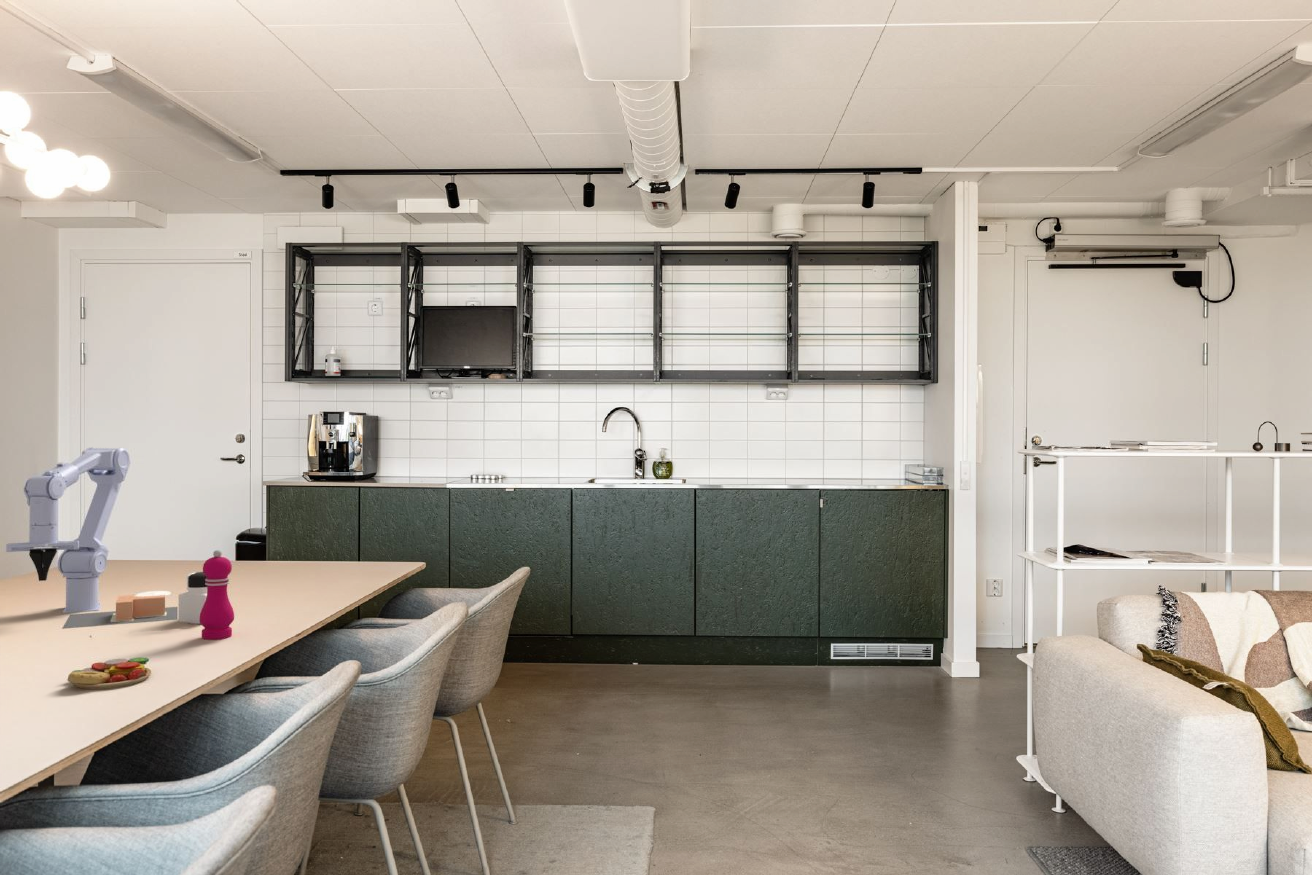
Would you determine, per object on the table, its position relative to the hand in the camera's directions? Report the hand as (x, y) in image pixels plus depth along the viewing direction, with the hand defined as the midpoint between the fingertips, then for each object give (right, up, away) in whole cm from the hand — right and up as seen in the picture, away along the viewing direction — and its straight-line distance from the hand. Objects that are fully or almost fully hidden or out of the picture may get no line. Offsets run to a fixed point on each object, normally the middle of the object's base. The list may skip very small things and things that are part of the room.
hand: (42, 580), depth 218 cm
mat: (+16, -11, +6) cm, 20 cm away
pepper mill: (+49, -11, -13) cm, 52 cm away
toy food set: (+47, -12, -49) cm, 69 cm away
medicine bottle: (+37, -11, +4) cm, 38 cm away
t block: (+20, -10, +8) cm, 23 cm away
